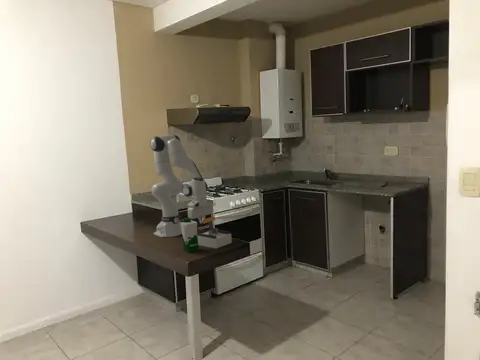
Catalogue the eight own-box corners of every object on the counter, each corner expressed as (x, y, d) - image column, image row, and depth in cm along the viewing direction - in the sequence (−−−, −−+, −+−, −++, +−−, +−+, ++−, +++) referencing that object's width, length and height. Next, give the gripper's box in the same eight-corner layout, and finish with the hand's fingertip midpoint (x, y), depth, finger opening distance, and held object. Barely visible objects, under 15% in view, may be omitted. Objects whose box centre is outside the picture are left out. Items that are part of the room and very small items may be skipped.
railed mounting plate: (197, 235, 259) (197, 233, 259) (212, 230, 269) (212, 228, 268) (214, 238, 248) (214, 236, 248) (229, 233, 258) (229, 231, 258)
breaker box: (196, 244, 260) (195, 230, 259) (212, 239, 270) (211, 225, 269) (216, 248, 248) (215, 233, 247) (231, 242, 258) (230, 228, 257)
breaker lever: (207, 235, 255) (201, 220, 256) (218, 232, 262) (212, 217, 264) (209, 235, 254) (203, 219, 255) (220, 231, 261) (214, 216, 262)
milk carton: (194, 247, 254) (191, 216, 251) (201, 250, 247) (198, 218, 244) (181, 250, 249) (178, 219, 246) (188, 253, 242) (185, 221, 239)
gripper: (208, 199, 272) (210, 218, 274) (185, 204, 257) (187, 225, 259) (214, 199, 268) (216, 219, 270) (192, 205, 253) (193, 226, 255)
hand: (202, 222), depth 264 cm, fingers closed
